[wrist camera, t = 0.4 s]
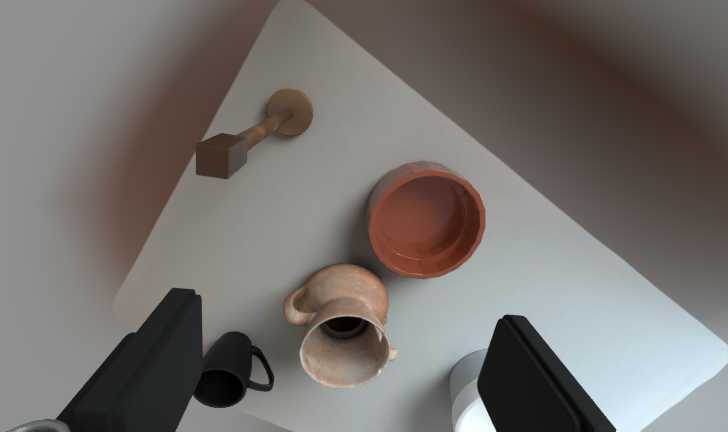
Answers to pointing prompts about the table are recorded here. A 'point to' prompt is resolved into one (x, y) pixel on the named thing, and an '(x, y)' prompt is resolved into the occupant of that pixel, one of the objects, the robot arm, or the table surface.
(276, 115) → the wooden dowel plunger
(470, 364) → the bowl
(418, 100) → the table surface
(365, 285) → the ceramic jug
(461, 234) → the mixing bowl
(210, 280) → the table surface
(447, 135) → the table surface
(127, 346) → the robot arm
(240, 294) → the table surface
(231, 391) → the mug
